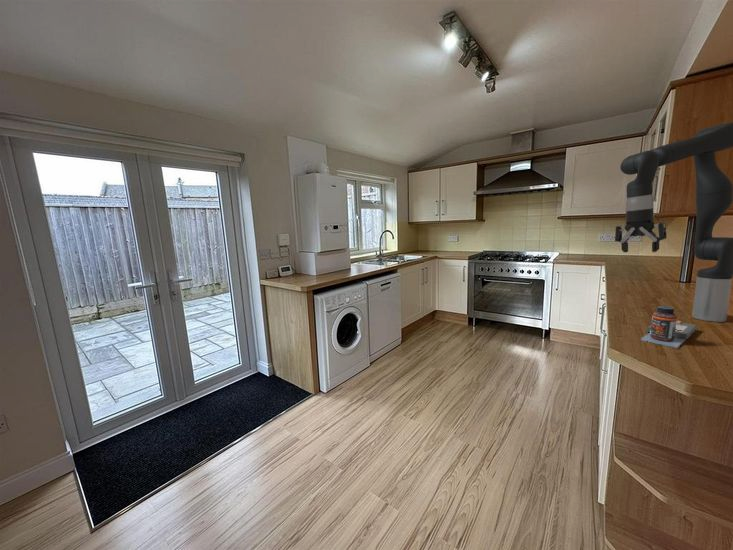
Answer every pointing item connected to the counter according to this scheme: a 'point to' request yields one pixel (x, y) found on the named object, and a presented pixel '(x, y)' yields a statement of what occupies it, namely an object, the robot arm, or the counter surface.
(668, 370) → the counter surface
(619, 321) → the counter surface
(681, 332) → the grey c-shaped bracket
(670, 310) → the supplement bottle
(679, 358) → the counter surface
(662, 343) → the coaster
